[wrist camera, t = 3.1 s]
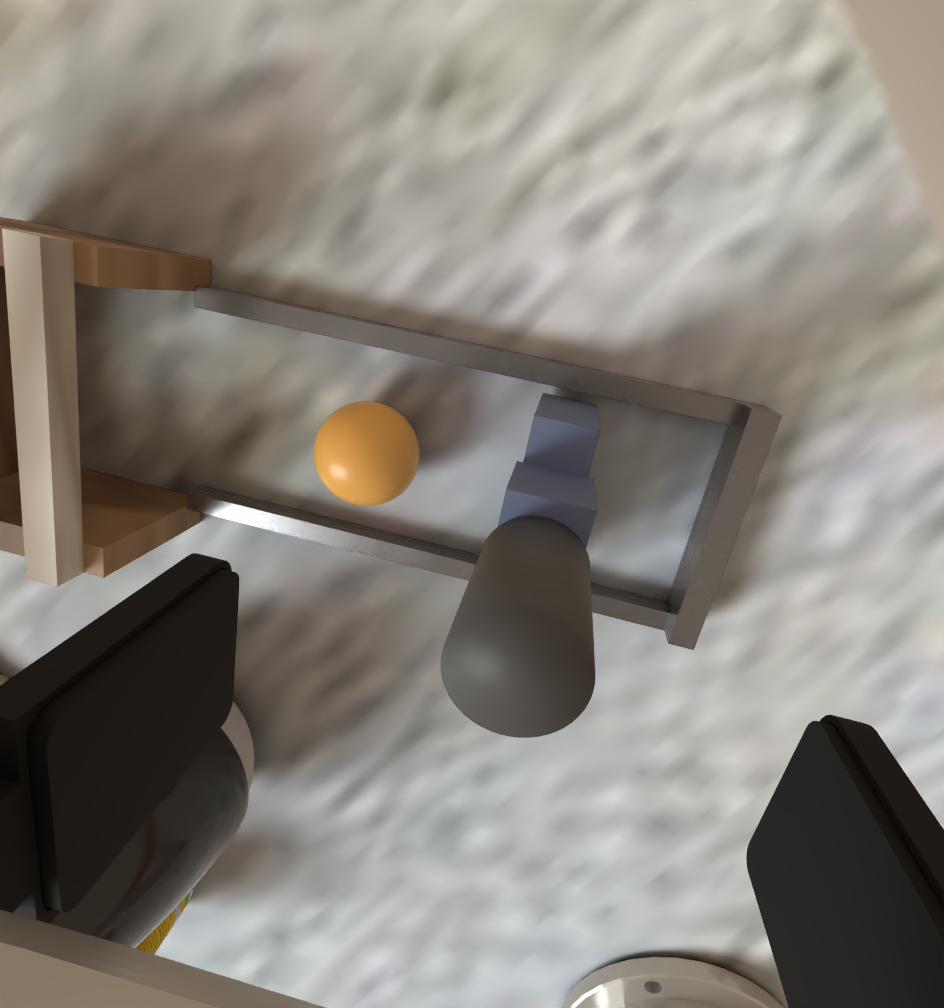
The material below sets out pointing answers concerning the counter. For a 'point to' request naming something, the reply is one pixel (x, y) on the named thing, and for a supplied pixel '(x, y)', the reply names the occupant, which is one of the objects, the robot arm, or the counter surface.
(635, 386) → the track
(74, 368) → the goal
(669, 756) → the counter surface
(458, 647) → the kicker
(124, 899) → the pump dispenser
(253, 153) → the counter surface
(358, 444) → the ball
